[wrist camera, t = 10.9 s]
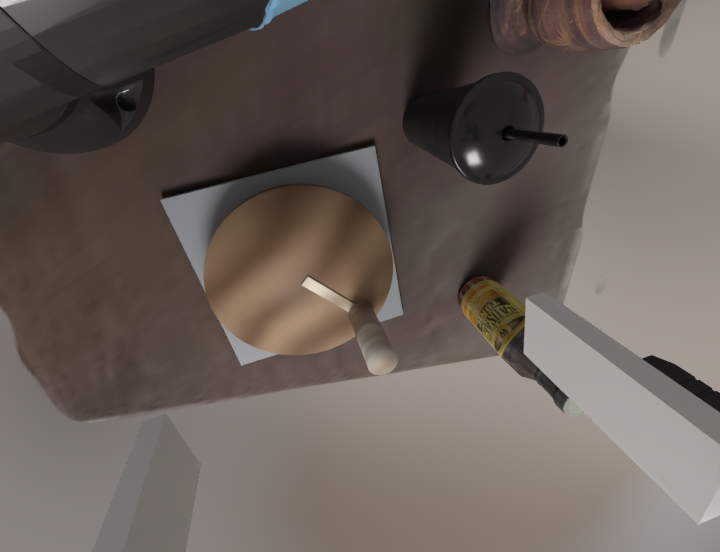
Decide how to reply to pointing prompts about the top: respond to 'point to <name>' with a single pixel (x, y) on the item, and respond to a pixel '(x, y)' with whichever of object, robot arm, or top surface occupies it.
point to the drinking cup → (482, 126)
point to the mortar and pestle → (575, 23)
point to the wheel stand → (213, 203)
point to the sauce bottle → (507, 331)
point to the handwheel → (302, 273)
